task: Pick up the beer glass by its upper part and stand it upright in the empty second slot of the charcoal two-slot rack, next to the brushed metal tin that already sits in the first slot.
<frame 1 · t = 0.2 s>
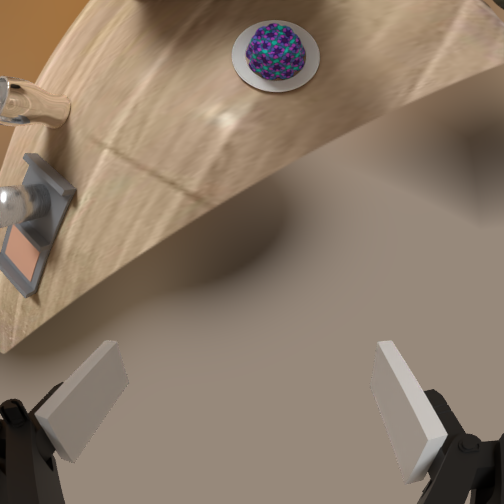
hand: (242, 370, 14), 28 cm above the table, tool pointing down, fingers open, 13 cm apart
beer glass: (58, 111, 39), on the table
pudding: (275, 56, 35), on the table
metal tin: (39, 200, 41), point 1 cm above the table, touching slot rack
slot rack: (32, 226, 43), on the table
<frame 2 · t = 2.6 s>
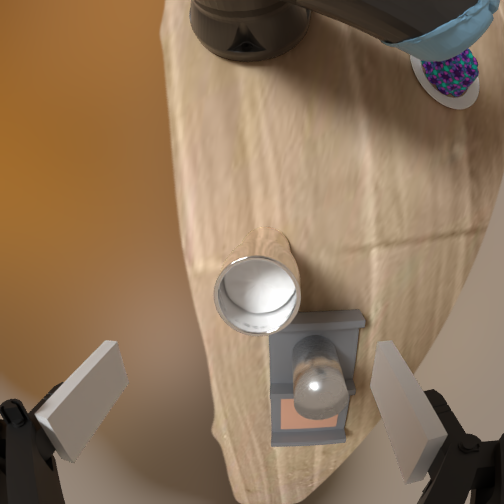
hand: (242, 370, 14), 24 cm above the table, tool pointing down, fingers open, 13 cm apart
beer glass: (265, 251, 37), on the table
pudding: (444, 70, 29), on the table
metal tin: (313, 353, 39), point 1 cm above the table, touching slot rack
slot rack: (311, 381, 41), on the table
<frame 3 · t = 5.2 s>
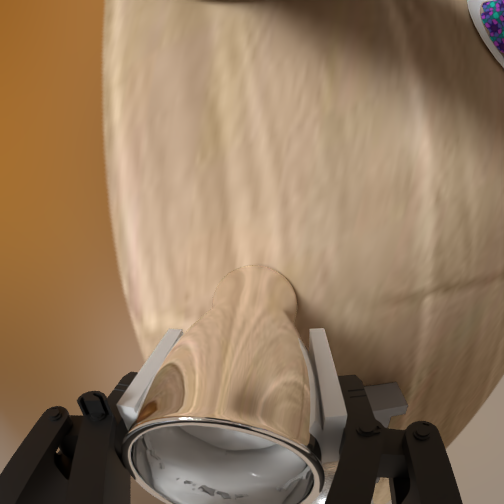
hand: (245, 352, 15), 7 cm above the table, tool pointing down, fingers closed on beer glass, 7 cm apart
beer glass: (255, 304, 22), on the table, touching gripper
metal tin: (325, 440, 24), point 1 cm above the table, touching slot rack
slot rack: (320, 465, 26), on the table
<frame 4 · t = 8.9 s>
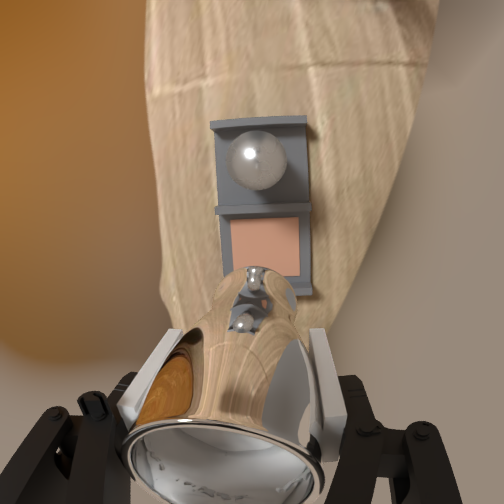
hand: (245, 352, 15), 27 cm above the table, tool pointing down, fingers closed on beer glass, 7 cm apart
beer glass: (255, 304, 22), point 20 cm above the table, touching gripper
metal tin: (261, 165, 38), point 1 cm above the table, touching slot rack
slot rack: (263, 206, 40), on the table
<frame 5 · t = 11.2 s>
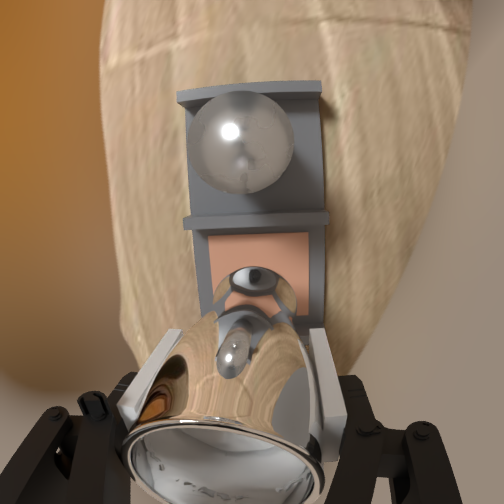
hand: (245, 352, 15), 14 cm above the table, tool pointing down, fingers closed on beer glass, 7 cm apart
beer glass: (255, 304, 22), point 7 cm above the table, touching gripper
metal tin: (253, 155, 26), point 1 cm above the table, touching slot rack
slot rack: (257, 215, 28), on the table
when the fingers open (8 cm above the table, at t = 13.1 s): beer glass stays where it is, resting on slot rack.
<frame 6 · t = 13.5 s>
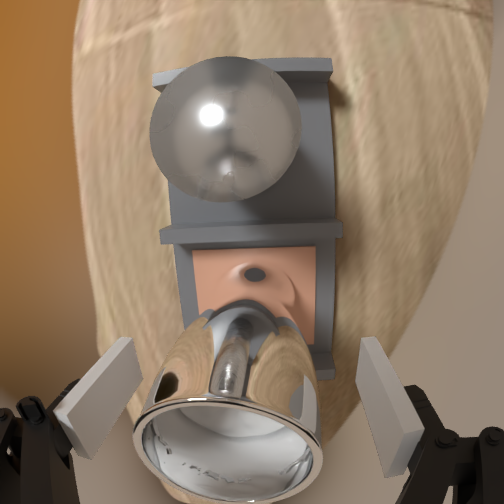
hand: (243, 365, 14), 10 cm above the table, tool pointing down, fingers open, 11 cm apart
beer glass: (255, 298, 23), point 1 cm above the table, touching slot rack
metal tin: (247, 150, 20), point 1 cm above the table, touching slot rack
slot rack: (252, 225, 22), on the table
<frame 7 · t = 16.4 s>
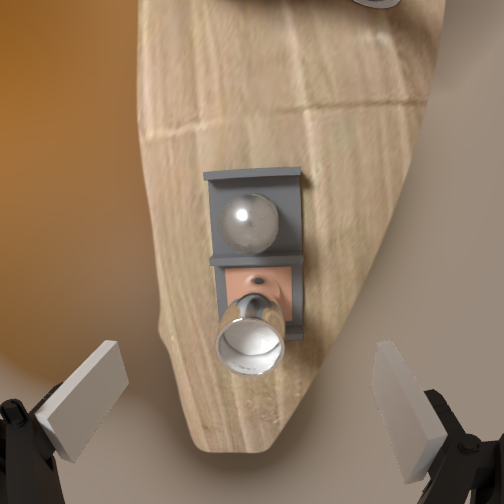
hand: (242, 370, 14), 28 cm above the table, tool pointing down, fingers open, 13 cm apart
beer glass: (259, 294, 42), point 1 cm above the table, touching slot rack
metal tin: (255, 215, 40), point 1 cm above the table, touching slot rack
slot rack: (257, 255, 42), on the table
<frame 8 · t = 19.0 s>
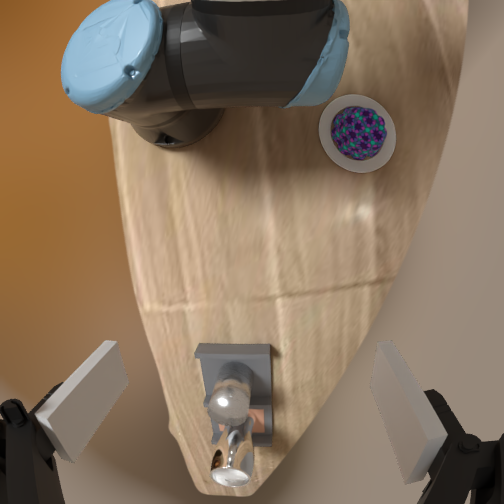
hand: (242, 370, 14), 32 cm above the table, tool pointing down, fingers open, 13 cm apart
beer glass: (240, 418, 52), point 1 cm above the table, touching slot rack
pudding: (357, 133, 40), on the table
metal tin: (235, 375, 50), point 1 cm above the table, touching slot rack
slot rack: (238, 395, 52), on the table
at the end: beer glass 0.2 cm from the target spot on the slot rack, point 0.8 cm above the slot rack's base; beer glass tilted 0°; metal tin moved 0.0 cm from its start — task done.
